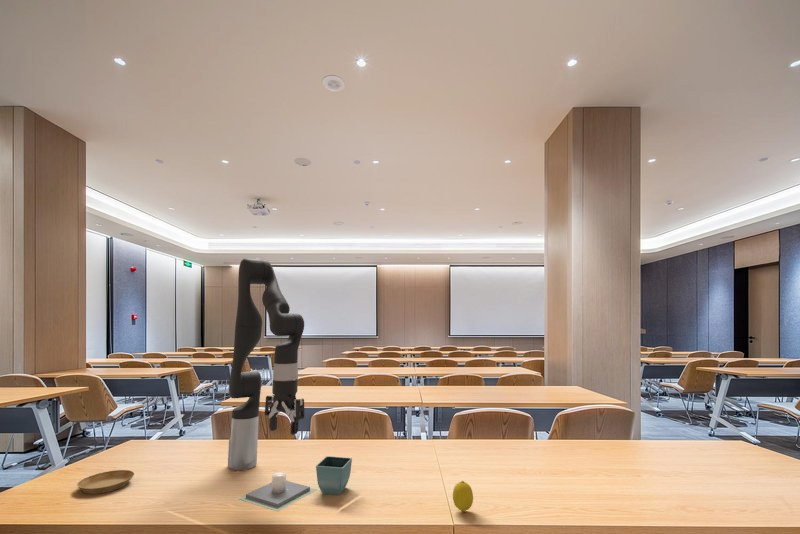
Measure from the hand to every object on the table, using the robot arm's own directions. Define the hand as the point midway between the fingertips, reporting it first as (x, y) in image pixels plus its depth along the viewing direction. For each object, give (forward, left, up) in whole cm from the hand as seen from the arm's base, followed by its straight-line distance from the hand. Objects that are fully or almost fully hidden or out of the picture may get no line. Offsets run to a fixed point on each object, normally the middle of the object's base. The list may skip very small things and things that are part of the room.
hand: (283, 432), depth 122 cm
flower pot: (+13, +9, -18) cm, 24 cm away
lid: (0, -1, -18) cm, 18 cm away
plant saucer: (-54, -22, -19) cm, 62 cm away
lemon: (+52, +16, -18) cm, 57 cm away
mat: (0, -1, -18) cm, 18 cm away
